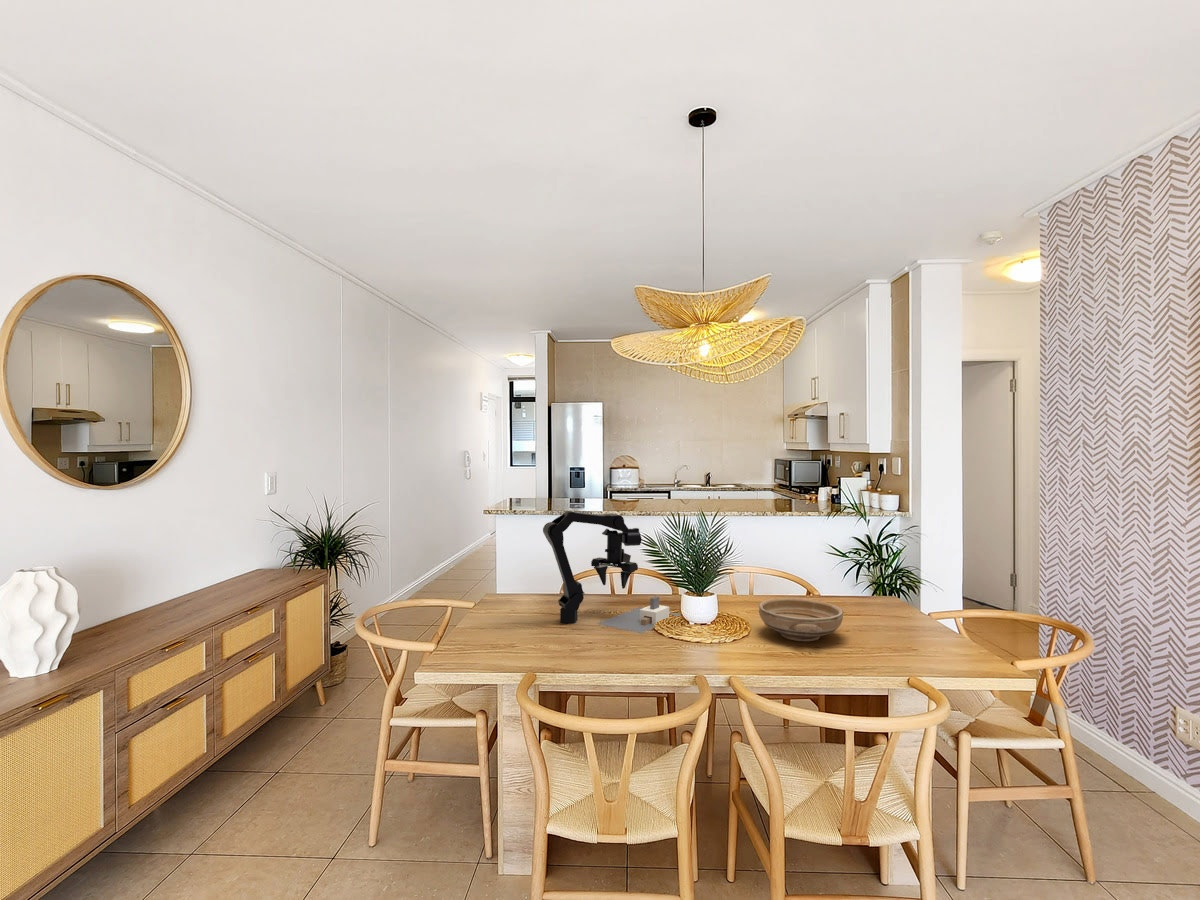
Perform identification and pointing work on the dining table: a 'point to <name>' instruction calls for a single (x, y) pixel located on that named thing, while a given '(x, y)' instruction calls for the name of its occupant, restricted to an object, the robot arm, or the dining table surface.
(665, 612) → the cabinet block
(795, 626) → the ceramic bowl
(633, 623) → the cleat board
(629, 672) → the dining table surface
